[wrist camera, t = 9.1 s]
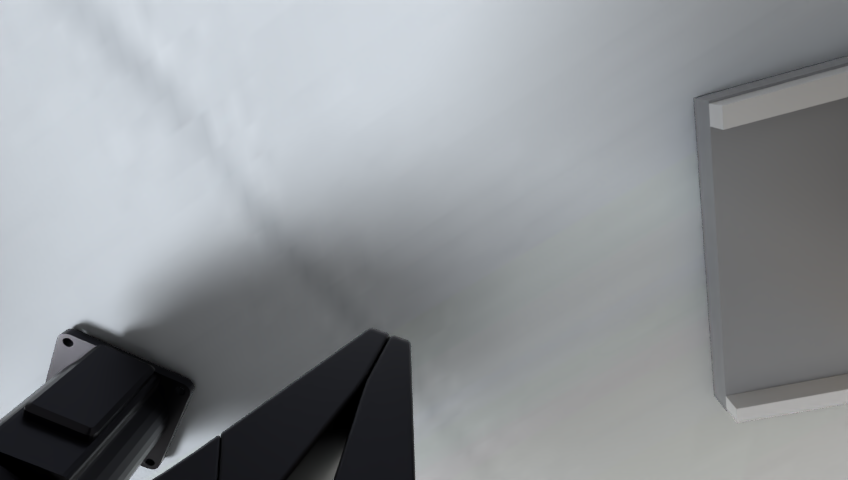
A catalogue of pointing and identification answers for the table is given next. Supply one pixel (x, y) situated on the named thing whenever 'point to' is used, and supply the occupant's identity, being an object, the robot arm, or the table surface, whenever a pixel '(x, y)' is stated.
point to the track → (777, 240)
